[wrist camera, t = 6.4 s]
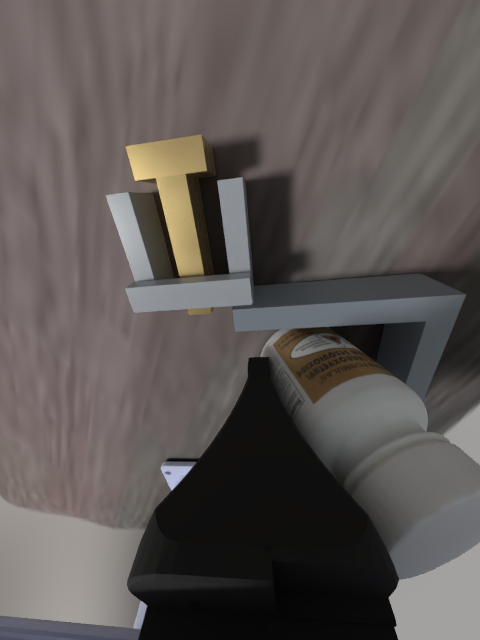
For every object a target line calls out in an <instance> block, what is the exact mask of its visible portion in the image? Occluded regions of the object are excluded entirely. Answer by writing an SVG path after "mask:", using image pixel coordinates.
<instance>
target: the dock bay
mask: <svg viewBox="0 0 480 640" xmlns="http://www.w3.org/2000/svg"><path fill="white" fill-rule="evenodd" d="M217 183H218V190H219V198H220V205H221V213H222V220H223V228H224V236H225V243H226V251H227V258H228V266H229V274H223V275H212V276H200V277H188V278H176V279H175V278H174V274H173V270H172V266H171V262H170V258H169V254H168V250H167V246H166V242H165V238H164V234H163V230H162V226H161V222H160V219H159V215H158V211H157V207H156V203H155V199H154V195H153V193H132V192H127V193H120V194H112V195H106V197H107V200H108V203H109V206H110V209H111V212H112V215H113V218H114V220H115V223H116V226H117V229H118V232H119V235H120V238H121V241H122V244H123V247H124V250H125V253H126V255H127V258H128V261H129V264H130V267H131V270H132V273H133V276H134V279H135V282H133V283H132V284H130V285H129V286H128V287H126V288H125V290H126V293H127V295H128V298H129V301H130V304H131V306H132V309H133V312H134V313H136V312H150V311H165V310H180V309H194V308H209V307H224V306H233V309H232V311H233V318H234V326H235V332H239V331H257V330H276V329H294V328H312V327H331V326H349V325H367V324H385V325H384V329H383V333H382V337H381V342H380V346H379V350H378V355H377V359H376V362H377V363H378V364H379V365H381V366H382V367H383V368H384V369H386V370H387V371H388V372H390V373H391V374H393V375H394V376H395V377H396V378H398V379H399V380H400V381H402V382H403V383H405V384H406V385H407V386H408V387H410V388H411V389H412V390H413V391H414V392H415V393H416V394H417V395H418V396H419V397H420V399H421V400H422V402H423V400H424V398H425V395H426V393H427V390H428V388H429V386H430V383H431V381H432V378H433V376H434V373H435V371H436V368H437V366H438V363H439V361H440V358H441V356H442V353H443V351H444V348H445V346H446V344H447V341H448V339H449V336H450V334H451V331H452V329H453V326H454V324H455V321H456V319H457V316H458V314H459V311H460V309H461V306H462V304H463V301H464V299H465V297H466V294H465V293H462V292H460V291H458V290H456V289H454V288H452V287H449V286H447V285H445V284H443V283H441V282H439V281H436V280H434V279H432V278H430V277H428V276H426V275H423V274H421V273H414V274H401V275H388V276H375V277H362V278H349V279H336V280H323V281H310V282H297V283H284V284H271V285H258V286H254V281H253V269H252V256H251V244H250V231H249V219H248V207H247V194H246V182H245V180H244V179H243V177H240V178H233V179H225V180H218V181H217Z"/></svg>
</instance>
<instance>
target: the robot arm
mask: <svg viewBox="0 0 480 640" xmlns="http://www.w3.org/2000/svg"><path fill="white" fill-rule="evenodd" d="M161 470H162V472H163V474H164V476H165V478H166V480H167V482H168V484H169V486H170V488H171V490H172V491H171V492H170V493H169V494H168V495H167V497H166V498H165V499H164V500H163V501H162V502H161V503H160V504H159V505H158V506H157V507H156V509H155V510H154V512H153V514H152V517H151V519H150V521H149V523H148V525H147V528H146V530H145V533H144V535H143V537H142V539H141V542H140V545H139V547H138V550H137V554H136V557H135V560H134V563H133V566H132V569H131V572H130V575H129V578H128V582H127V586H128V589H129V591H130V592H131V593H132V594H133V595H134V596H136V597H137V598H138V599H140V600H141V603H140V606H139V609H138V613H137V617H136V620H135V623H134V627H133V628H123V627H113V626H101V625H92V624H81V623H71V622H59V621H50V620H39V619H28V618H18V617H7V616H0V640H398V638H397V635H396V632H395V628H394V627H395V626H396V620H395V617H394V614H393V611H392V608H391V604H390V602H389V596H390V595H391V594H392V593H393V592H394V590H395V589H396V587H397V584H398V581H399V577H398V575H397V572H396V569H395V566H394V564H393V561H392V559H391V557H390V555H389V553H388V550H387V548H386V546H385V544H384V542H383V540H382V538H381V537H380V535H379V533H378V531H377V529H376V527H375V526H374V524H373V522H372V520H371V519H370V517H369V515H368V514H367V513H366V512H365V511H364V509H363V508H362V507H361V506H360V505H359V504H358V503H357V502H356V501H355V500H354V499H353V498H352V496H351V495H350V494H349V493H348V492H347V491H346V490H345V488H344V487H343V486H342V485H341V484H340V483H339V482H338V480H337V479H336V478H335V477H334V476H333V474H332V473H331V472H330V471H329V470H328V469H327V467H326V466H325V465H324V464H323V462H322V461H321V460H320V458H319V457H318V456H317V455H316V453H315V452H314V451H313V449H312V448H311V447H310V445H309V444H308V443H307V441H306V440H305V439H304V437H303V436H302V434H301V433H300V431H299V430H298V429H297V427H296V425H295V424H294V422H293V421H292V419H291V418H290V416H289V414H288V413H287V411H286V409H285V408H284V406H283V404H282V402H281V400H280V399H279V397H278V395H277V393H276V390H275V388H274V386H273V384H272V382H271V379H270V366H269V357H254V358H249V361H248V379H247V381H246V384H245V386H244V388H243V391H242V393H241V395H240V397H239V399H238V401H237V403H236V405H235V407H234V408H233V410H232V412H231V414H230V415H229V417H228V419H227V420H226V422H225V424H224V425H223V427H222V428H221V430H220V431H219V433H218V434H217V436H216V437H215V438H214V440H213V441H212V443H211V444H210V446H209V447H208V448H207V450H206V451H205V452H204V453H203V455H202V456H201V457H200V458H199V460H198V461H197V462H163V463H162V466H161Z"/></svg>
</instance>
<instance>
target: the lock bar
mask: <svg viewBox="0 0 480 640" xmlns="http://www.w3.org/2000/svg"><path fill="white" fill-rule="evenodd" d="M126 150H127V153H128V157H129V160H130V164H131V167H132V171H133V175H134V178H135V181H141V182H148V183H155V184H157V186H158V190H159V194H160V198H161V202H162V206H163V211H164V215H165V219H166V223H167V227H168V231H169V235H170V239H171V243H172V248H173V252H174V256H175V260H176V264H177V268H178V272H179V276H180V278H188V277H200V276H212V275H214V269H213V263H212V256H211V250H210V244H209V238H208V232H207V226H206V220H205V214H204V208H203V202H202V196H201V190H200V184H199V178H204V177H211V176H216V170H215V163H214V155H213V148H212V146H211V145H210V144H209V142H208V141H207V140H206V139H205V138H204V137H203V136H202V135H195V136H189V137H182V138H176V139H170V140H163V141H157V142H151V143H144V144H138V145H132V146H126ZM213 309H214V307H209V308H194V309H188V314H189V315H197V314H212V311H213Z"/></svg>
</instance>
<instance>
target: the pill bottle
mask: <svg viewBox="0 0 480 640" xmlns="http://www.w3.org/2000/svg"><path fill="white" fill-rule="evenodd" d="M260 357H269V366H270V379H271V382H272V384H273V386H274V388H275V390H276V393H277V395H278V397H279V399H280V400H281V402H282V404H283V406H284V408H285V409H286V411H287V413H288V414H289V416H290V418H291V419H292V421H293V422H294V424H295V425H296V427H297V429H298V430H299V431H300V433H301V434H302V436H303V437H304V439H305V440H306V441H307V443H308V444H309V445H310V447H311V448H312V449H313V451H314V452H315V453H316V455H317V456H318V457H319V458H320V460H321V461H322V462H323V464H324V465H325V466H326V467H327V469H328V470H329V471H330V472H331V473H332V474H333V476H334V477H335V478H336V479H337V480H338V482H339V483H340V484H341V485H342V486H343V487H344V488H345V490H346V491H347V492H348V493H349V494H350V495H351V496H352V498H353V499H354V500H355V501H356V502H357V503H358V504H359V505H360V506H361V507H362V508H363V509H364V511H365V512H366V513H367V514H368V515H369V517H370V519H371V520H372V522H373V524H374V526H375V527H376V529H377V531H378V533H379V535H380V537H381V538H382V540H383V542H384V544H385V546H386V548H387V550H388V553H389V555H390V557H391V559H392V561H393V564H394V566H395V569H396V572H397V575H398V577H399V579H406V578H411V577H414V576H418V575H420V574H424V573H426V572H428V571H431V570H433V569H435V568H437V567H439V566H441V565H443V564H445V563H447V562H449V561H451V560H453V559H455V558H457V557H458V556H460V555H462V554H463V553H465V552H467V551H468V550H469V549H471V548H472V547H474V546H475V545H477V544H478V543H479V542H480V465H479V464H478V463H476V462H475V461H474V460H473V459H472V458H471V457H469V456H468V455H467V454H466V453H464V451H462V450H461V449H460V448H459V447H457V446H456V445H454V444H451V443H450V441H449V440H448V439H447V438H445V437H444V436H443V435H441V434H437V433H433V432H426V431H427V423H428V417H427V411H426V408H425V406H424V403H423V402H422V400H421V399H420V397H419V396H418V395H417V394H416V393H415V392H414V391H413V390H412V389H411V388H410V387H408V386H407V385H406V384H405V383H403V382H402V381H400V380H399V379H398V378H396V377H395V376H394V375H393V374H391V373H390V372H388V371H387V370H386V369H384V368H383V367H382V366H381V365H379V364H378V363H377V362H375V361H374V360H372V359H371V358H370V357H369V356H367V355H366V354H364V353H363V352H362V351H360V350H359V349H358V348H356V347H355V346H354V345H352V344H351V343H350V342H348V341H347V340H345V339H344V338H343V337H341V336H340V335H338V334H337V333H336V332H334V331H333V330H332V329H331V328H329V327H312V328H294V329H280V330H278V331H277V332H276V333H275V334H274V335H273V336H272V337H271V338H270V339H269V340H268V341H267V343H266V344H265V346H264V348H263V350H262V353H261V356H260Z"/></svg>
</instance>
